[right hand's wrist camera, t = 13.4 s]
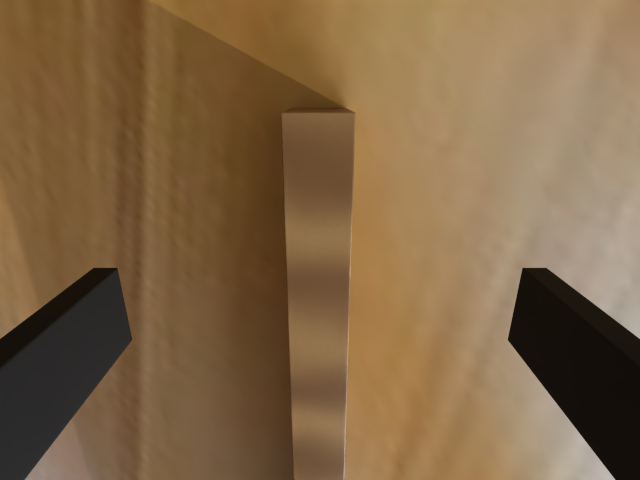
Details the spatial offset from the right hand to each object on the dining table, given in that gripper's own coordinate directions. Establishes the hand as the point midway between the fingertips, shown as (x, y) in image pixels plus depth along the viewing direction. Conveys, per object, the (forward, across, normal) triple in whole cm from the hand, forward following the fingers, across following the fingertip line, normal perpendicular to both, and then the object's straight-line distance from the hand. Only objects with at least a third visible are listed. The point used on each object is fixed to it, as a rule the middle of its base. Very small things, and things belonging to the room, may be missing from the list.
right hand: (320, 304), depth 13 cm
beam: (+21, 0, -34) cm, 40 cm away
